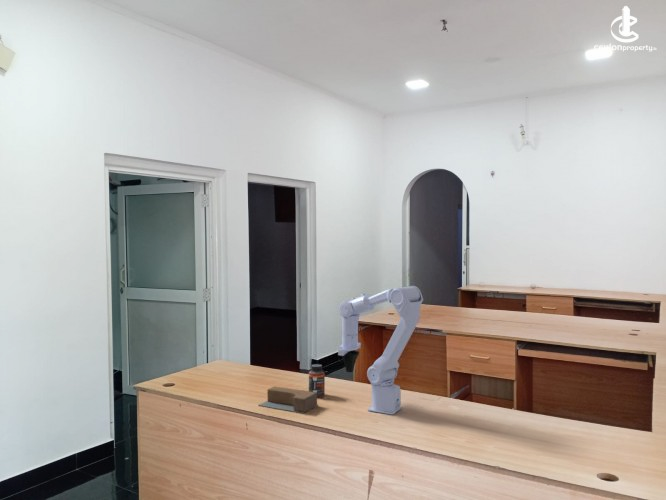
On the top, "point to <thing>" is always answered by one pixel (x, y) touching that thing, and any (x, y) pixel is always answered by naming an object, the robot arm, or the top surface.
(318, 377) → the supplement bottle
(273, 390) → the wooden block
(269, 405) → the mat
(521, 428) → the top surface
